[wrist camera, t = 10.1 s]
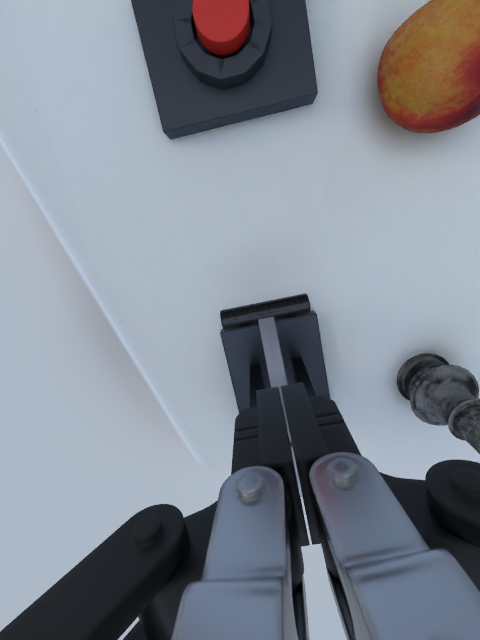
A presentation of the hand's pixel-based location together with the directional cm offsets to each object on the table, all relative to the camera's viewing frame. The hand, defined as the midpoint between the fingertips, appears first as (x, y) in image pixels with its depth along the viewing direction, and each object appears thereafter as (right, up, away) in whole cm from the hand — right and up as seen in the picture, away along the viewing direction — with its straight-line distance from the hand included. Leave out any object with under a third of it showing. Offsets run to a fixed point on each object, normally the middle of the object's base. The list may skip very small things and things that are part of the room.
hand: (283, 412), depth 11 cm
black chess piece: (+17, -3, +22) cm, 28 cm away
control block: (-2, +24, +15) cm, 29 cm away
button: (-3, +23, +12) cm, 26 cm away
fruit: (+13, +21, +16) cm, 29 cm away
